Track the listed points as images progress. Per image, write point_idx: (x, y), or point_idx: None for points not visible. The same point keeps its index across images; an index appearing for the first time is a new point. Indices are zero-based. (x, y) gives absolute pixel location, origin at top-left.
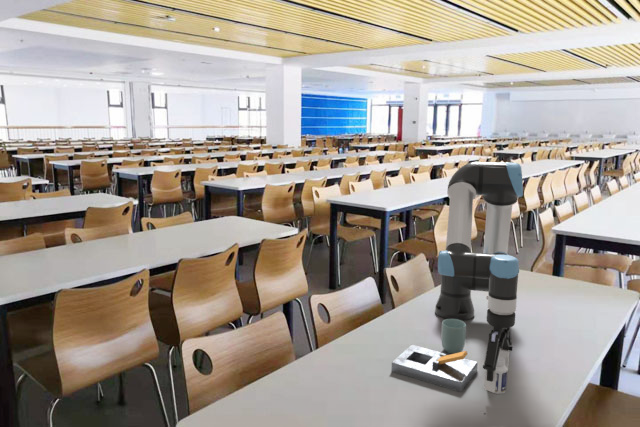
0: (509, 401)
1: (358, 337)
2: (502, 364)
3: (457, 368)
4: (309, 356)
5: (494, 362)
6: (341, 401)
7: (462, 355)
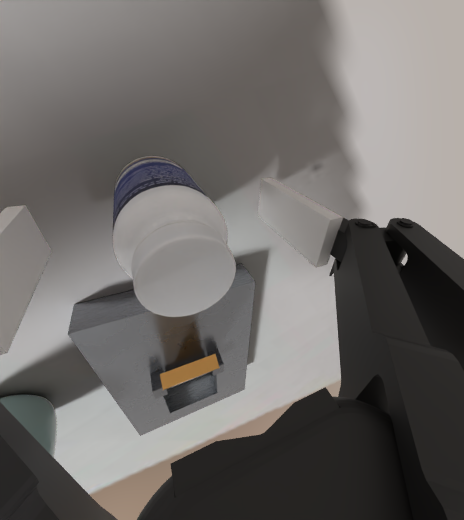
0: (211, 113)
1: (159, 455)
2: (208, 228)
3: (181, 331)
4: (255, 417)
5: (432, 246)
6: (338, 338)
7: (213, 369)
